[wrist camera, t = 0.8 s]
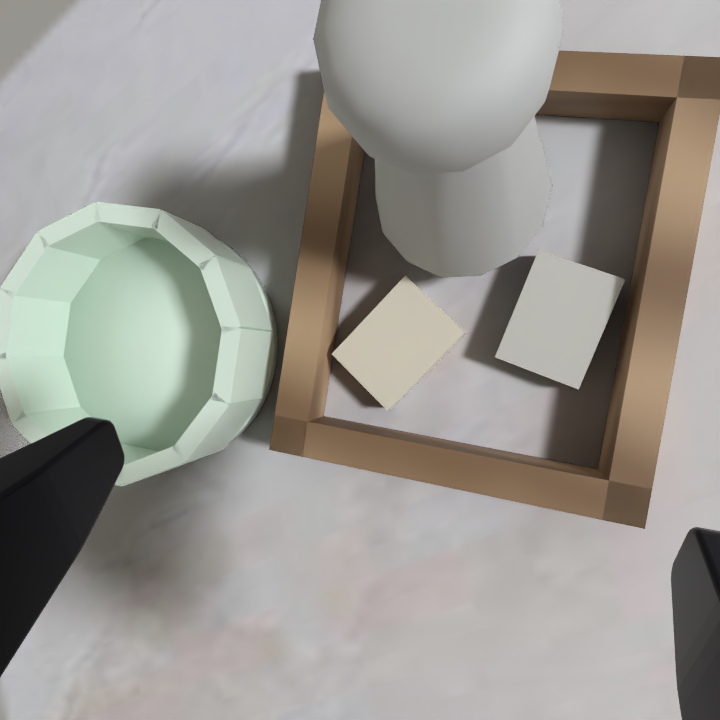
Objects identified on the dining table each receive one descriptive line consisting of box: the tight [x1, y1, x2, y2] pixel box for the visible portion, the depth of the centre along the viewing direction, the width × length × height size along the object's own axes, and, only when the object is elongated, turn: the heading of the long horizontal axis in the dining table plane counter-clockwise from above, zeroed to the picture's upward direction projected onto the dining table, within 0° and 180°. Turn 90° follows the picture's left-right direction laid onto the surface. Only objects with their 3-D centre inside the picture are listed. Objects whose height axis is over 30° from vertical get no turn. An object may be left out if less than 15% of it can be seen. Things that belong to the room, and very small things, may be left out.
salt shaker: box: [313, 0, 564, 277], centre depth 15 cm, size 6×6×13 cm
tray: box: [269, 51, 720, 529], centre depth 21 cm, size 15×13×2 cm
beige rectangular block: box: [332, 276, 467, 411], centre depth 22 cm, size 4×3×2 cm
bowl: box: [0, 202, 278, 486], centre depth 23 cm, size 10×10×4 cm
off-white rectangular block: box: [495, 250, 625, 390], centre depth 21 cm, size 4×3×2 cm
